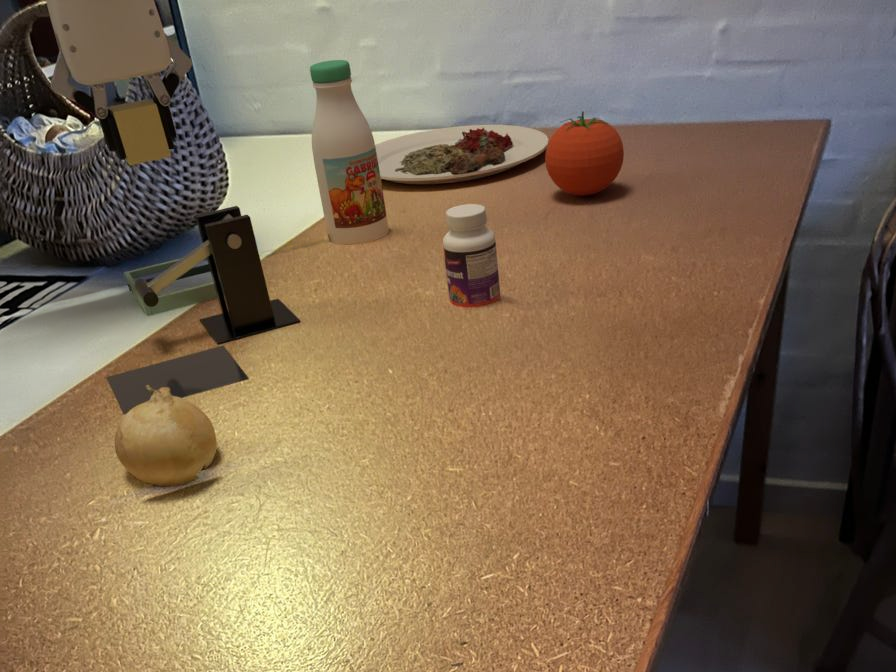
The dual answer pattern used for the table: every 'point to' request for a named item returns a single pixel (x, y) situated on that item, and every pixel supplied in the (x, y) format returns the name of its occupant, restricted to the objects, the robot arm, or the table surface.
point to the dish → (174, 298)
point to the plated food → (457, 153)
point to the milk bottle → (345, 159)
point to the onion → (165, 440)
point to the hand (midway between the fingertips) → (144, 150)
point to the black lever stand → (238, 280)
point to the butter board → (177, 377)
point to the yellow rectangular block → (140, 131)
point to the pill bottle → (470, 257)
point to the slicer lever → (172, 273)
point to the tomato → (584, 156)
